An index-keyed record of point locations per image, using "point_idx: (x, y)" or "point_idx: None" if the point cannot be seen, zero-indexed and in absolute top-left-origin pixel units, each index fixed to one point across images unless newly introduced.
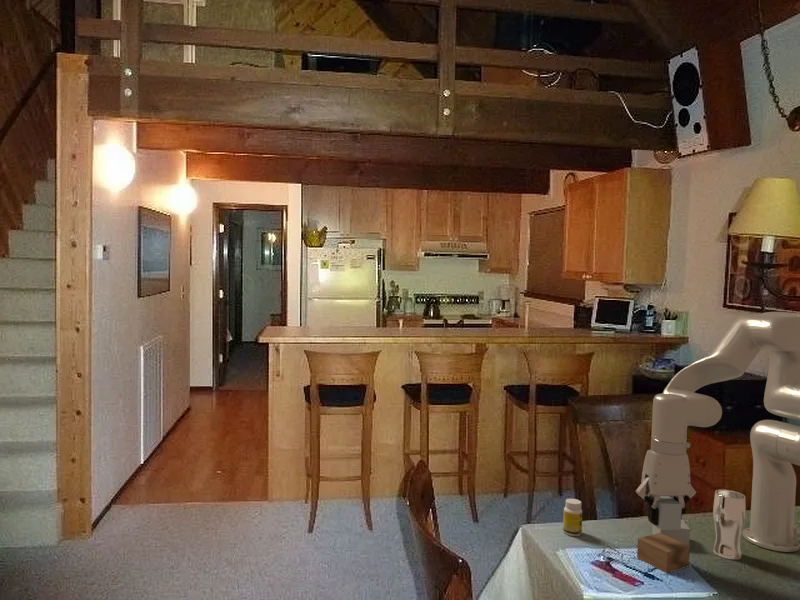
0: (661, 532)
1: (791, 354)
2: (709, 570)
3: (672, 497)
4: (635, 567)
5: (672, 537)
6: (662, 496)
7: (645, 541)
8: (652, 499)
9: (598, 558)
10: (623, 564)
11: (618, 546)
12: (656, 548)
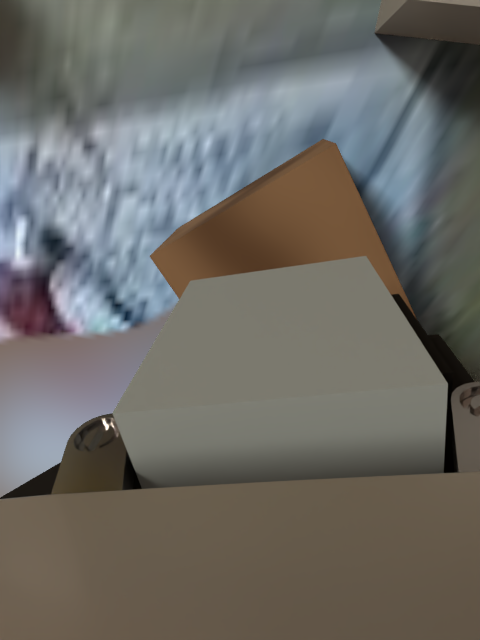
0: (402, 14)
1: None
2: (467, 316)
3: (454, 456)
4: (147, 314)
5: (472, 30)
6: (315, 404)
7: (181, 293)
8: (128, 480)
9: (6, 249)
10: (104, 293)
11: (114, 93)
12: None
